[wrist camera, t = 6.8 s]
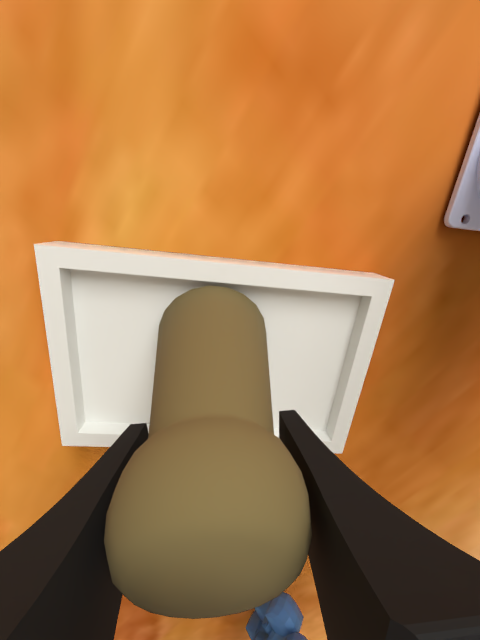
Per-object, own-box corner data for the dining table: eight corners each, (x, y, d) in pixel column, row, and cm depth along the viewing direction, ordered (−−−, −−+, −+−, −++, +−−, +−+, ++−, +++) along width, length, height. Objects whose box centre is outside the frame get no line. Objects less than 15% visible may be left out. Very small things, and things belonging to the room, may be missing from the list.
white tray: (374, 273, 17) (394, 280, 15) (330, 432, 21) (342, 453, 19) (57, 240, 15) (33, 244, 13) (77, 422, 19) (62, 445, 17)
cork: (207, 394, 17) (198, 666, 8) (134, 330, 15) (-13, 612, 5) (286, 340, 16) (396, 589, 6) (220, 261, 14) (235, 468, 4)
